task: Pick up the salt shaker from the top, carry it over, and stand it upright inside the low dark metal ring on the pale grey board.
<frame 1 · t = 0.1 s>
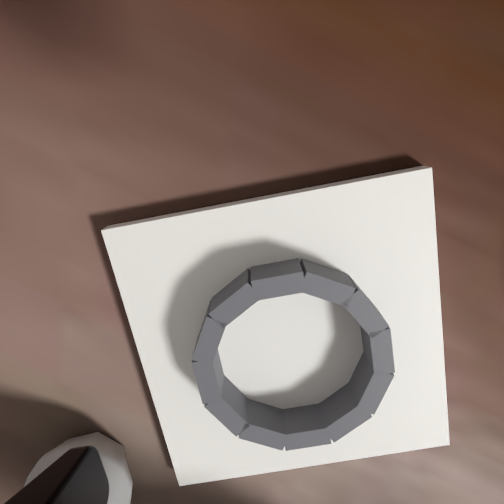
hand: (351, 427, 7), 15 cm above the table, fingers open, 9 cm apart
ring holder: (288, 337, 23), on the table
salt shaker: (96, 456, 26), on the table
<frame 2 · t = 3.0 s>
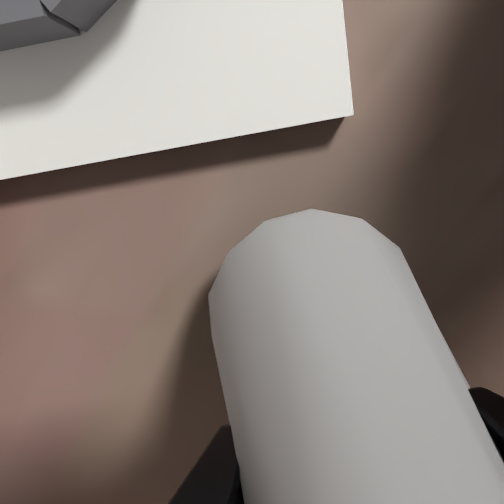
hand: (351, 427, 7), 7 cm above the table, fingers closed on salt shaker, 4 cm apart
salt shaker: (301, 279, 14), on the table, touching gripper
when the fingers open (9 cm above the table, at t = 7.0 s): salt shaker stays where it is, resting on ring holder.
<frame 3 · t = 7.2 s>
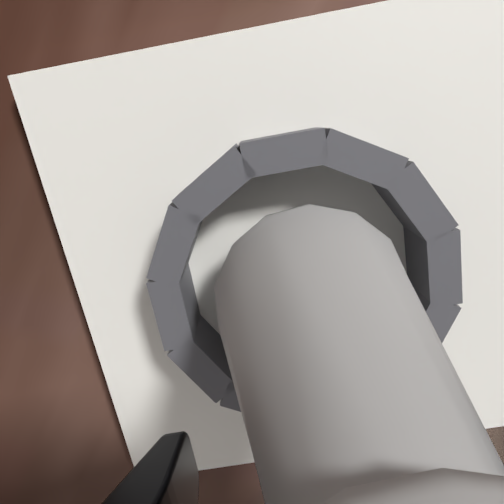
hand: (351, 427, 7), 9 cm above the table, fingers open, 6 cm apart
ring holder: (295, 262, 16), on the table
salt shaker: (300, 270, 15), point 1 cm above the table, touching ring holder
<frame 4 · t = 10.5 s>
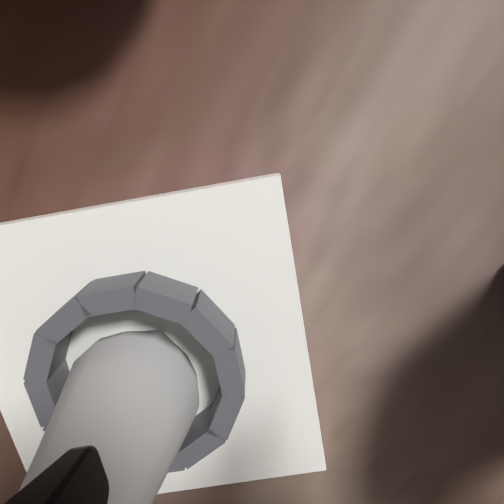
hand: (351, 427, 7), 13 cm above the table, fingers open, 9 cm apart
ring holder: (150, 354, 21), on the table
salt shaker: (148, 363, 21), point 1 cm above the table, touching ring holder
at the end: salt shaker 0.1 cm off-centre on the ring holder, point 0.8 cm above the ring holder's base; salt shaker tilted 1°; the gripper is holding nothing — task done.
